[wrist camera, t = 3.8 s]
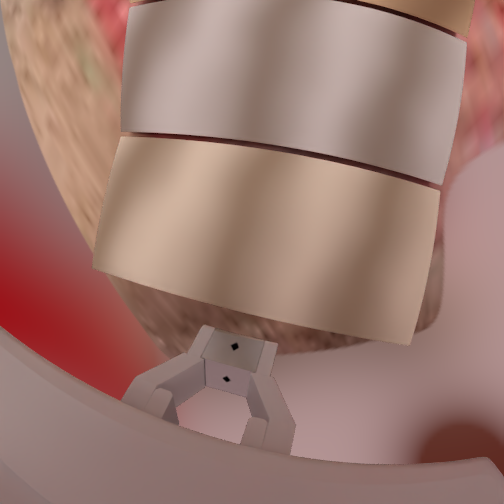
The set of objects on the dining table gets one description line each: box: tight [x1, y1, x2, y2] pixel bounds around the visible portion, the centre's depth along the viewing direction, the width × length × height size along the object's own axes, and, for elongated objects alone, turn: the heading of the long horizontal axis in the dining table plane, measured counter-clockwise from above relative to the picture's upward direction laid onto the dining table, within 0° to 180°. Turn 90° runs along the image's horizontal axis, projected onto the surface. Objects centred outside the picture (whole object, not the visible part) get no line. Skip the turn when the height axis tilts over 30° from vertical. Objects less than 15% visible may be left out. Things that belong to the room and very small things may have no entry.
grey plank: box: [121, 0, 467, 185], centre depth 12 cm, size 18×8×2 cm, turn 84°
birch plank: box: [92, 137, 440, 346], centre depth 15 cm, size 18×8×2 cm, turn 84°
